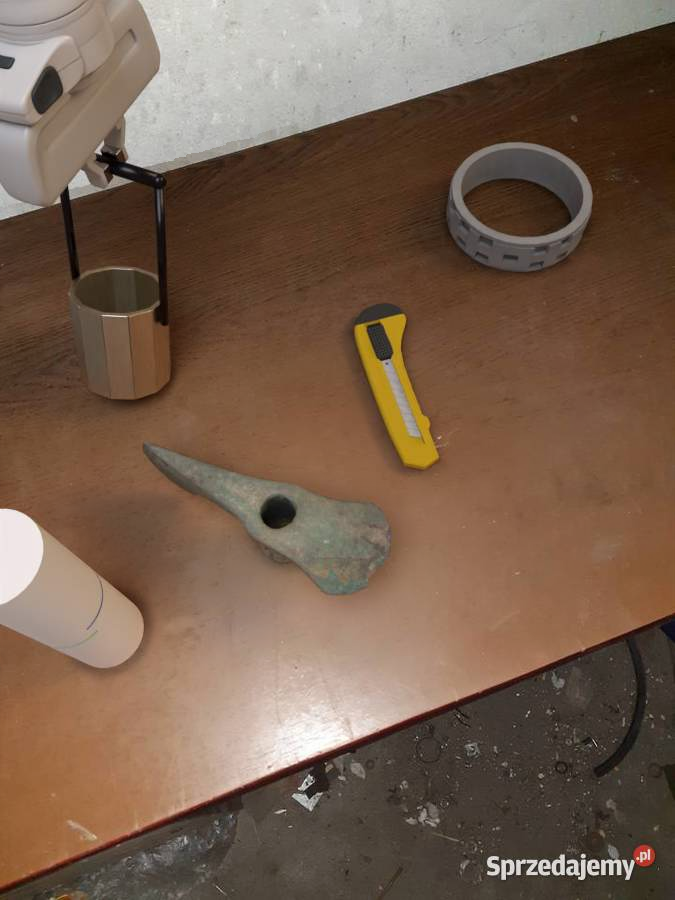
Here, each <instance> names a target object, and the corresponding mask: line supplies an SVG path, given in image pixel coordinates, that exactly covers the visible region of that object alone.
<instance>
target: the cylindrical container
mask: <svg viewBox="0 0 675 900" xmlns="http://www.w3.org/2000/svg"><path fill="white" fill-rule="evenodd" d="M0 625H1V626H3V627H6V628H9V629H10V630H13V631H14V632H17V633H19V634H21V635H23V636H25V637H27V638H29V639H32V640H34V641H36V642H39V643H41V644H42V645H45V646H47V647H49V648H51V649H54V650H55V651H58V652H60V653H62V654H65V655H67V656H69V657H71V658H73V659H74V660H78V661H79V662H82V663H84V664H86V665H89V666H91V667H93V668H98V669H109V668H114V667H116V666H119V665H121V664H123V663H124V662H126V661H127V660H129V659H130V658H131V657H132V656H133V655H134V654H135V652H136V651H137V650H138V648H139V647H140V644H141V643H142V640H143V636H144V630H145V626H144V625H145V623H144V618H143V615H142V613H141V611H140V609H139V608H138V607H137V605H135V603H133V602H132V601H131V600H130V599H129V598H128V597H126V595H124V594H123V593H122V592H121V591H119V590H118V589H116V588H115V586H113V585H112V584H111V583H109V582H108V581H107V580H106V579H105V578H103V577H102V576H101V575H100V574H99V573H97V572H96V571H95V570H94V569H93V568H92V567H91V566H89V565H88V564H86V563H85V562H84V561H83V560H82V559H80V558H79V557H78V556H77V555H76V554H74V553H73V552H72V551H71V550H70V549H68V547H66V546H65V545H64V544H62V543H61V542H60V541H59V540H57V539H56V538H55V537H54V536H53V535H52V534H51V533H49V532H48V531H46V530H45V528H43V527H42V526H40V524H38V523H37V522H36V521H35V520H34V519H32V518H31V517H29V516H28V515H26V514H25V513H23V512H20V511H18V510H17V509H16V510H15V509H11V508H0Z"/></svg>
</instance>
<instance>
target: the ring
mask: <svg viewBox="0 0 675 900" xmlns="http://www.w3.org/2000/svg"><path fill="white" fill-rule="evenodd" d="M500 179H501V180H503V179H516V180H524V181H528V182H532V183H535V184H537V185H540V186H542V187H545V189H547V190H549V191H550V192H552V193H554V194H555V195H556V196H558V198H559V199H560V200H561V201H562V202H563V203H564V205H565V206H566V208H567V210H568V212H569V214H570V218H571V222H570V223H569V224H567V225H566V226H565V227H562V228H561V229H559V230H558V231H554V232H552V233H549V234H545V235H538V236H517V235H511V234H507V233H503V232H500V231H496V230H495V229H493V228H491V227H488V226H487V225H485V224H484V223H483V222H481V221H479V220H478V219H477V218H476V217H475V216H474V215H473V214H472V213H471V212H470V211H469V209H468V207H467V206H466V204H465V201H464V198H465V196H466V195H467V194H469V192H470V191H471V190H473V189H474V188H476V187H478V186H480V185H482V184H484V183H488V182H491V181H495V180H500ZM593 196H594V195H593V191H592V185H591V183H590V181H589V179H588V177H587V175H586V174H585V173H584V171H583V169H582V168H580V166H579V165H578V164H577V163H576V162H574V161H573V160H572V159H571V158H569V157H568V156H566V155H565V154H563V153H561V152H560V151H557V150H556V149H552V148H550V147H547V146H545V145H540V144H537V143H531V142H524V141H517V142H515V141H512V142H511V141H510V142H509V141H508V142H502V143H495V144H493V145H489V146H486V147H483V148H481V149H479V150H477V151H475V152H473V153H472V154H470V156H468V157H467V158H465V160H464V161H463V162H462V163H461V164H460V165H459V167H458V168H457V170H456V171H455V172H454V174H453V176H452V178H451V182H450V185H449V191H448V197H447V203H446V204H447V205H446V211H445V214H446V215H445V216H446V223H447V227H448V230H449V232H450V235H451V237H452V238H453V240H454V242H455V243H456V245H457V246H458V247H459V248H460V249H461V250H462V251H463V252H464V253H465V254H466V255H467V256H468V257H470V258H472V259H473V260H474V261H477V262H478V263H481V264H482V265H484V266H487V267H490V268H493V269H497V270H501V271H506V272H512V273H513V272H514V273H518V272H519V273H521V272H522V273H525V272H526V273H528V272H534V271H539V270H543V269H546V268H549V267H552V266H554V265H556V264H557V263H559V262H561V261H563V260H564V259H565V258H566V257H568V256H569V255H570V254H571V253H572V252H573V251H574V250H575V249H576V248H577V246H578V245H579V243H580V242H581V239H582V236H583V234H584V232H585V230H586V227H587V225H588V222H589V219H590V217H591V215H592V211H593V209H592V206H593V201H594V197H593Z"/></svg>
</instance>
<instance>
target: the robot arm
mask: <svg viewBox="0 0 675 900" xmlns="http://www.w3.org/2000/svg"><path fill="white" fill-rule="evenodd" d="M160 66H161V51H160V47H159V44H158V42H157V39H156V35H155V33H154V30H153V28H152V25H151V23H150V21H149V18H148V15H147V13H146V11H145V9H144V7H143V5H142V3H141V2H140V0H0V186H2V188H3V190H4V191H5V192H6V193H7V195H8V196H10V197H11V198H13V199H15V200H17V201H20V202H22V203H26V204H29V205H32V206H37V207H42V208H51V207H52V206H53V205H54V204H55V202H56V201H57V200H58V199H59V198H60V195H61V193H62V192H63V191H64V190H65V188H66V187H67V186H68V187H69V185H70V184H71V182H72V181H73V180H74V179H75V177H76V176H77V175H78V173H79V172H80V171H82V172H84V173H85V176H86V178H87V180H88V182H89V183H90V185H92V186H93V187H95V188H98V189H102V190H106V189H107V187H108V186H109V184H111V182H112V180H113V179H114V175H113V174H111V169H110V167H109V165H108V164H105V163H99V162H98V161H95V160H96V154H95V153H96V150H97V149H98V148H99V147H100V146H101V144H102V143H103V145H102V147H101V148H100V149H99V152H100V155H104V156H107V157H110V158H113V159H116V160H119V161H123V162H126V163H127V161H128V160H129V154H128V151H127V149H126V146H125V143H126V129H127V127H126V126H127V121H126V118H125V114H126V113H127V112H128V110H129V109H130V108H131V107H132V105H133V104H134V103H135V101H136V100H137V99H138V97H140V95H141V94H142V93H143V91H144V90H145V89H146V88H147V86H148V85H149V84H150V83H151V81H152V80H153V79H154V77H155V76H156V75H157V74H158V72H159V71H160Z"/></svg>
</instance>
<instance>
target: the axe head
mask: <svg viewBox="0 0 675 900" xmlns="http://www.w3.org/2000/svg"><path fill="white" fill-rule="evenodd" d="M142 453H143V454H144V455H145V456H146V457H147V460H149V461H150V463H151V464H152V465H153V466H154V467H155V468H156V469H157V471H159V472H160V473H161V474H162V475H164V476H165V477H166V478H167V479H168V480H170V482H172V483H173V484H175V485H176V486H178V487H179V488H181V489H182V490H184V491H185V492H187V493H189V494H191V495H192V496H200V497H203V498H204V499H206V500H208V501H210V502H211V503H212V504H214V505H216V506H218V507H219V508H221V509H222V510H223V511H225V512H227V513H228V514H230V515H231V516H232V517H233V518H235V519H236V520H237V521H238V522H239V523H240V524H241V525H242V527H243V528H244V530H245V531H246V532H247V533H248V535H249V537H250V538H251V539H252V540H253V541H256V542H258V543H259V545H260V548H261V550H262V552H263V554H264V555H265V556H266V558H267V559H269V560H271V561H272V562H275V563H281V564H290V563H293V564H294V565H296V566H297V568H299V569H300V571H302V572H303V573H304V574H305V575H306V576H307V577H308V578H309V580H311V582H312V583H314V584H315V586H316V587H317V588H318V589H319V590H320V592H322V593H324V594H326V595H330V596H347V595H353V594H356V593H358V592H360V591H362V590H364V589H367V588H368V587H369V586H370V580H371V578H372V577H373V575H374V573H375V572H376V571H378V570H379V569H381V568H382V566H383V565H384V564H385V562H387V561H388V559H389V557H390V554H391V551H392V531H391V525H390V522H389V520H388V518H387V515H386V514H385V512H384V511H383V510H382V508H380V507H379V506H378V505H377V504H375V503H373V502H370V501H349V500H340V499H335V498H330V497H327V496H323V495H321V494H318V493H315V492H313V491H310V490H307V488H304V487H302V486H299V485H296V484H295V483H291V482H284V481H277V480H271V479H266V478H265V479H264V478H260V477H256V476H255V477H254V476H251V475H248V474H244V473H241V472H238V471H234V470H230V469H227V468H225V467H224V468H223V467H220V466H218V465H215V464H212V463H209V462H205V461H203V460H200V459H197V458H194V457H191V456H188V455H186V454H182V453H180V452H177V451H174V450H172V449H170V448H166V447H164V446H161V445H158V444H154V443H151V442H142ZM283 523H288V524H287V525H285V526H283V527H280V528H275V527H276V526H278V525H279V524H283Z"/></svg>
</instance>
